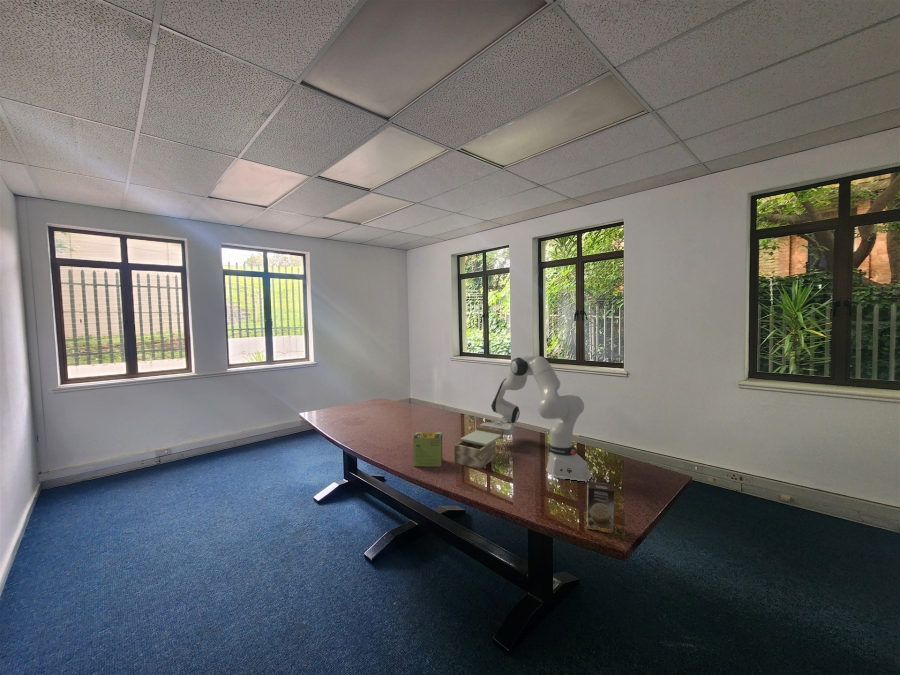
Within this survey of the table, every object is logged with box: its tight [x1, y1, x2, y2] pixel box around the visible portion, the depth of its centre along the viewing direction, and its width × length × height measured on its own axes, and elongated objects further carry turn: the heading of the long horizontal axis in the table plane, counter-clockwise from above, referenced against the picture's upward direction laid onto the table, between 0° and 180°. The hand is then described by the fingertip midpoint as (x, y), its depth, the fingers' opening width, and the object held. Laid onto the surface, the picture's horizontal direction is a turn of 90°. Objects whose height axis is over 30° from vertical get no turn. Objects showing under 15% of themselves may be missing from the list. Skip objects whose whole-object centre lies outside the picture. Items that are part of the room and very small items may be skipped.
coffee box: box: [585, 480, 615, 531], centre depth 134 cm, size 9×6×16 cm
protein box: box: [412, 431, 443, 467], centre depth 196 cm, size 10×15×16 cm
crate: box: [453, 440, 497, 470], centre depth 199 cm, size 16×18×10 cm
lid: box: [459, 425, 504, 446], centre depth 205 cm, size 17×21×4 cm
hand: (490, 431), depth 214 cm, fingers closed, pressing on lid
